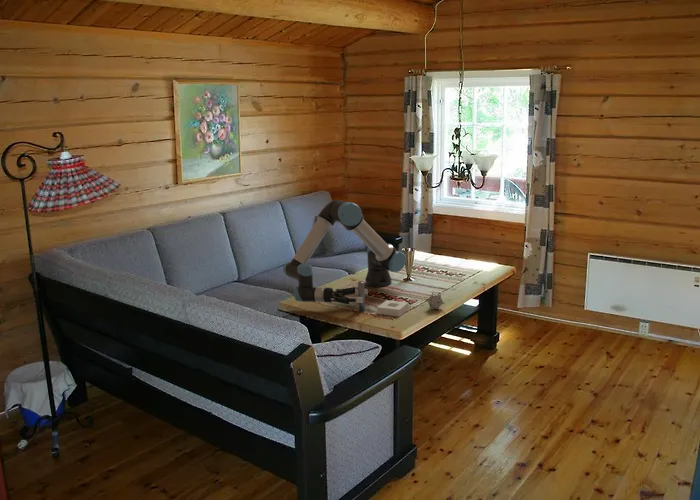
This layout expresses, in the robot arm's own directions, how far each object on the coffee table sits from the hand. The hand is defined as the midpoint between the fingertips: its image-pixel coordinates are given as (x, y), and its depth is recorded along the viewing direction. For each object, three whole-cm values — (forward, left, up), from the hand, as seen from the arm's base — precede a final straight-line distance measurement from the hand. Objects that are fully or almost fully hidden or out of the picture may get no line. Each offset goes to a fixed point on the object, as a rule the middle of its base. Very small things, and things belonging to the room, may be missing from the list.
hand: (365, 295), depth 344 cm
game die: (-15, +32, -8) cm, 36 cm away
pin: (0, -2, -8) cm, 8 cm away
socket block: (-4, +14, -8) cm, 16 cm away
